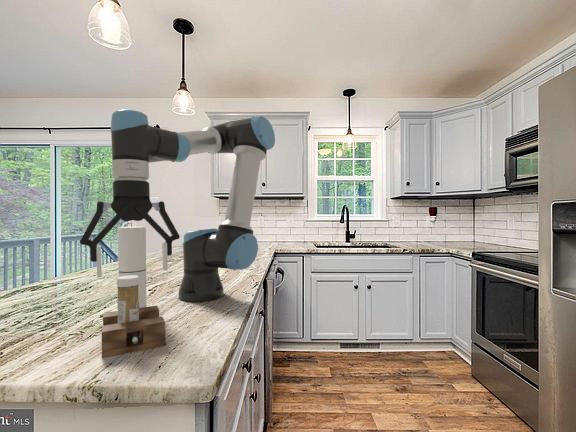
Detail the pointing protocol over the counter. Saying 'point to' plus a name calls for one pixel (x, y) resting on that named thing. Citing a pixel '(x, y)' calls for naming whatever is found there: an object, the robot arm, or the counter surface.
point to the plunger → (134, 336)
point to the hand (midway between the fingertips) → (133, 272)
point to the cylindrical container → (133, 257)
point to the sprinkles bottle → (128, 299)
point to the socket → (116, 332)
